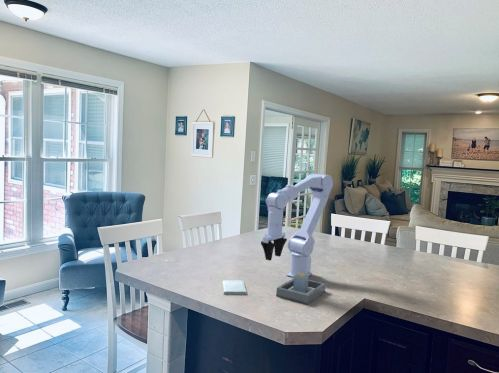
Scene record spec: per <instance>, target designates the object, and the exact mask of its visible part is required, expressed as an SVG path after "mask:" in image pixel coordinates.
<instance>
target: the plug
mask: <svg viewBox="0 0 499 373" xmlns="http://www.w3.org/2000/svg"><path fill="white" fill-rule="evenodd" d="M293 278H294V284H293V290H294V291H298V292H302V293H306V292H308V280H310V279H309V276H308V275H306V274H303V273H298V274H297V275H295V276H294V277H293Z"/></svg>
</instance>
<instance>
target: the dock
mask: <svg viewBox="0 0 499 373" xmlns="http://www.w3.org/2000/svg"><path fill="white" fill-rule="evenodd" d="M293 284H294V277H292V278H291V279H289V280H288V281H286V282H284V283H283V284H280V285H279V286H278V287H276V295H275V296H276V297H279V298H282V299H286V300H290V301H293V302H297V303H300V304H304V305H309V304H311V302H313V301H315V300H316V299H317V298H319V297H320V296H321V295H322V294H324V293H325V292H326V286H327V285H326V283H323V282H320V281H315V280H311V279H308V292H306V293H302V292H298V291H294V290H293Z"/></svg>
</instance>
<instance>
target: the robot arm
mask: <svg viewBox="0 0 499 373" xmlns="http://www.w3.org/2000/svg"><path fill="white" fill-rule="evenodd" d="M333 187H334V181H333V178H332V176H331V175H330V174H322V173H321V174H320V173H310V174H308V175H306V176H305V178H303V179H302V180H300V181H299V182H297V183H296V184H295V185H293V184H286V185H285V187H284V188H282V189H278V190H277V191H276V192H270V193H269V194H268V196H266V199H265V204H266V206H267V211H268V213H267V215H268V216H267V230H266V231H267V232H266V233H264V236H263V237H262V240H261V241H260V245H261V247H262V249H263V252H264V258H265V260H267V261H272V259H273V253H274V256H275V257H279V258H280V257H281V256H282V252H283V249H284V247H285V244H286V242H287V240H288V242H287V248H288V250H289V254H290V266H289V268H290V269H289V272H288V273H286V274H285V275H286V276H288V277H292V278H294V276H295V275H297V274H298V273H303V274H306V275H308V276H311V275H313V272H311V266H312V258H311V254H312V253H313V250H314V245H315V242H316V240H315V238H314V237H313V234H314V231H315V229H316V227H317V225H318V222H319V220H320V218H321V215H322V213H323V211H324V210H325V206H326V205H327V202H328V200H329V196H330V193H331V191H332V188H333ZM308 189H309V190H310V193H311V194H312V196H313V199H312V202H311V203H310V206H309V209H308V211H307V213H306V215H305V218H304V219H303V222H302V224H301V226H300V229H299V230H297V231H295V232H294V233H293V234H292V235H291V237H290V238H289V239H287V238H286V232H283V221H284V209H285V208H286V207H287V205H288V203H290V202H291V201H292V200H295V199H296V198H298V196H299V194H300V193H302V192H303V191H306V190H308Z"/></svg>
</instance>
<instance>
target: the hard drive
mask: <svg viewBox="0 0 499 373" xmlns="http://www.w3.org/2000/svg"><path fill="white" fill-rule="evenodd" d="M221 281H222V282H221V286H222V292H223V295H228V296H229V295H234V296H235V295H237V296H238V295H248V293H247V289H246V285H245V282H244V280H241V279H240V280H239V279H238V280H236V279H235V280H234V279H229V280H228V279H227V280H225V279H224V280H221Z"/></svg>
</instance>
